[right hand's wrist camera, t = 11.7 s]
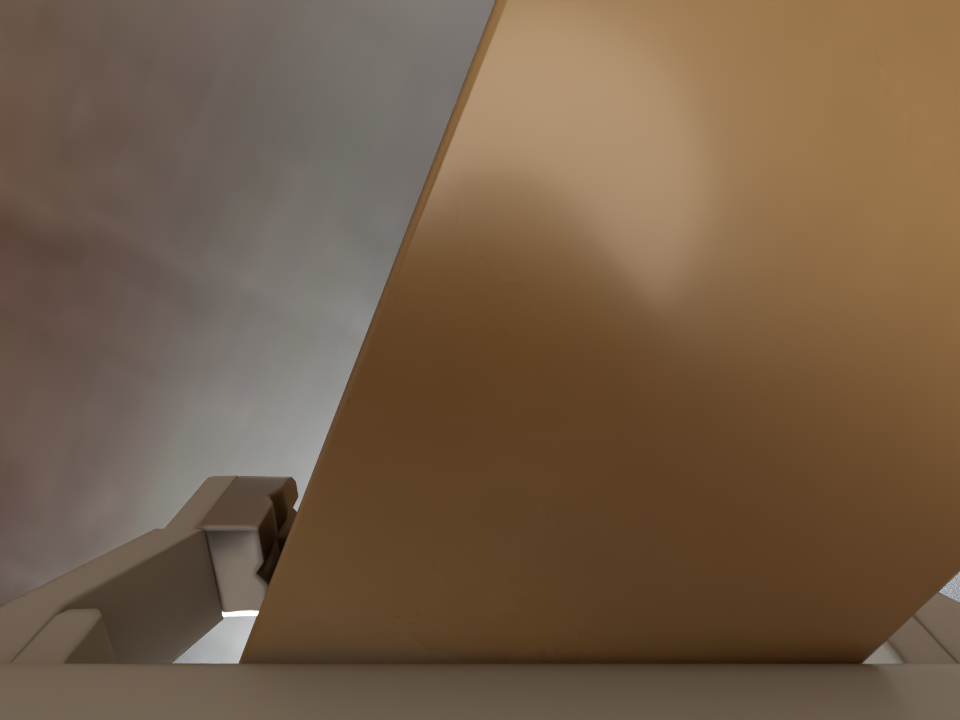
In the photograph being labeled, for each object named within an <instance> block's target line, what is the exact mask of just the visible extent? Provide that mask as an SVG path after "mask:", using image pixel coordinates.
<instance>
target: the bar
mask: <svg viewBox="0 0 960 720" xmlns="http://www.w3.org/2000/svg"><path fill="white" fill-rule="evenodd" d="M959 572H960V0H496V1H495V3H494V6H493V9H492V11H491V14H490V16H489V19H488V21H487V24H486V27H485V29H484V32H483V34H482V37H481V40H480V42H479V45H478V47H477V50H476V52H475V55H474V58H473V60H472V63H471V65H470V68H469V70H468V73H467V76H466V78H465V81H464V83H463V86H462V89H461V91H460V94H459V96H458V99H457V101H456V104H455V107H454V109H453V112H452V114H451V117H450V119H449V122H448V125H447V127H446V130H445V132H444V135H443V138H442V140H441V143H440V145H439V148H438V150H437V153H436V156H435V158H434V161H433V163H432V166H431V168H430V171H429V174H428V176H427V179H426V181H425V184H424V187H423V189H422V192H421V194H420V197H419V199H418V202H417V205H416V207H415V210H414V212H413V215H412V218H411V220H410V223H409V225H408V228H407V230H406V233H405V236H404V238H403V241H402V243H401V246H400V248H399V251H398V254H397V256H396V259H395V261H394V264H393V267H392V269H391V272H390V274H389V277H388V279H387V282H386V285H385V287H384V290H383V292H382V295H381V297H380V300H379V303H378V305H377V308H376V310H375V313H374V316H373V318H372V321H371V323H370V326H369V328H368V331H367V334H366V336H365V339H364V341H363V344H362V346H361V349H360V352H359V354H358V357H357V359H356V362H355V365H354V367H353V370H352V372H351V375H350V377H349V380H348V383H347V385H346V388H345V390H344V393H343V396H342V398H341V401H340V403H339V406H338V408H337V411H336V414H335V416H334V419H333V421H332V424H331V426H330V429H329V432H328V434H327V437H326V439H325V442H324V445H323V447H322V450H321V452H320V455H319V457H318V460H317V463H316V465H315V468H314V470H313V473H312V475H311V478H310V481H309V483H308V486H307V488H306V491H305V494H304V496H303V499H302V501H301V504H300V506H299V509H298V512H297V514H296V517H295V519H294V522H293V524H292V527H291V530H290V532H289V535H288V537H287V540H286V543H285V545H284V548H283V550H282V553H281V555H280V558H279V561H278V563H277V566H276V568H275V571H274V573H273V576H272V579H271V581H270V584H269V586H268V589H267V592H266V594H265V597H264V599H263V602H262V604H261V607H260V610H259V612H258V615H257V617H256V620H255V623H254V625H253V628H252V630H251V633H250V635H249V638H248V641H247V643H246V646H245V648H244V651H243V653H242V656H241V659H240V661H239V664H863V663H864V662H865V661H866V660H867V659H868V658H869V657H870V656H871V655H872V654H873V653H874V652H875V651H876V650H877V649H878V648H879V647H880V646H882V645H883V644H884V643H885V642H886V641H887V640H888V639H889V638H890V637H891V636H892V635H893V634H894V633H895V632H896V631H897V630H898V629H899V628H901V627H902V626H903V625H904V624H905V623H906V622H907V621H908V620H909V619H910V618H911V617H912V616H913V615H914V614H915V613H916V612H917V611H918V610H920V609H921V608H922V607H923V606H924V605H925V604H926V603H927V602H928V601H929V600H930V599H931V598H932V597H933V596H934V595H935V594H936V593H937V592H939V591H940V590H941V589H942V588H943V587H944V586H945V585H946V584H947V583H948V582H949V581H950V580H951V579H952V578H953V577H954V576H955V575H956V574H958V573H959Z"/></svg>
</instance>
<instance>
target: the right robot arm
mask: <svg viewBox="0 0 960 720" xmlns="http://www.w3.org/2000/svg"><path fill="white" fill-rule="evenodd" d="M297 498H298V492H297V486H296V482H295V480H294V479H293V478H292V477H265V476H240V477H239V476H213V477H209V478H207V479H206V481H205V482H204V483H203V484H202V485H201V486H200V488H199V489H198V490H197V491H196V492H195V493H194V495H193V496H192V497H191V498H190V499H189V501H188V502H187V503H186V504H185V505H184V506H183V508H182V509H181V510H180V511H179V512H178V513H177V515H176V516H175V517H174V518H173V519H172V520H171V522H170V523H169V524H168V525H167V526H166V527H165V529H154V530H152V531H150V532H148V533H146V534H144V535H142V536H140V537H138V538H136V539H134V540H132V541H130V542H128V543H126V544H124V545H122V546H120V547H118V548H116V549H114V550H112V551H110V552H108V553H106V554H104V555H102V556H100V557H98V558H96V559H94V560H92V561H90V562H88V563H86V564H84V565H82V566H80V567H78V568H76V569H74V570H72V571H70V572H68V573H66V574H64V575H62V576H60V577H58V578H56V579H54V580H52V581H50V582H48V583H46V584H44V585H42V586H40V587H38V588H36V589H34V590H32V591H30V592H28V593H26V594H24V595H22V596H20V597H18V598H16V599H14V600H12V601H10V602H8V603H6V604H4V605H2V606H0V720H960V603H959V602H957V601H955V600H953V599H951V598H949V597H947V596H945V595H943V594H941V593H939V592H937V593H936V594H935V595H934V596H933V597H932V598H931V599H930V600H929V601H928V602H927V603H926V604H925V605H924V606H923V607H922V608H921V609H920V610H918V611H917V612H916V613H915V614H914V615H913V616H912V617H911V618H910V619H909V620H908V621H907V622H906V623H905V624H904V625H903V626H902V627H901V628H899V629H898V630H897V631H896V632H895V633H894V634H893V635H892V636H891V637H890V638H889V639H888V640H887V641H886V642H885V643H884V644H883V645H882V646H880V647H879V648H878V649H877V650H876V651H875V652H874V653H873V654H872V655H871V656H870V657H869V658H868V659H867V660H866V661H865V662H864V663H863V664H171V663H172V662H174V661H175V660H176V659H177V658H178V657H179V656H181V655H182V654H183V653H184V652H185V651H186V650H188V649H189V648H190V647H191V646H192V645H193V644H195V643H196V642H197V641H198V640H199V639H200V638H202V637H203V636H204V635H205V634H206V633H207V632H209V631H210V630H211V629H212V628H213V627H214V626H216V625H217V624H218V623H219V622H220V621H221V620H223V616H245V615H258V612H259V610H260V607H261V604H262V602H263V599H264V597H265V594H266V592H267V589H268V586H269V584H270V581H271V579H272V576H273V573H274V571H275V568H276V566H277V563H278V561H279V558H280V555H281V553H282V550H283V548H284V545H285V543H286V540H287V537H288V535H289V532H290V530H291V527H292V524H293V522H294V519H295V517H296V514H297V512H296V511H295V510H294V509H293V506H294V504H295V502H296V500H297Z"/></svg>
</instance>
